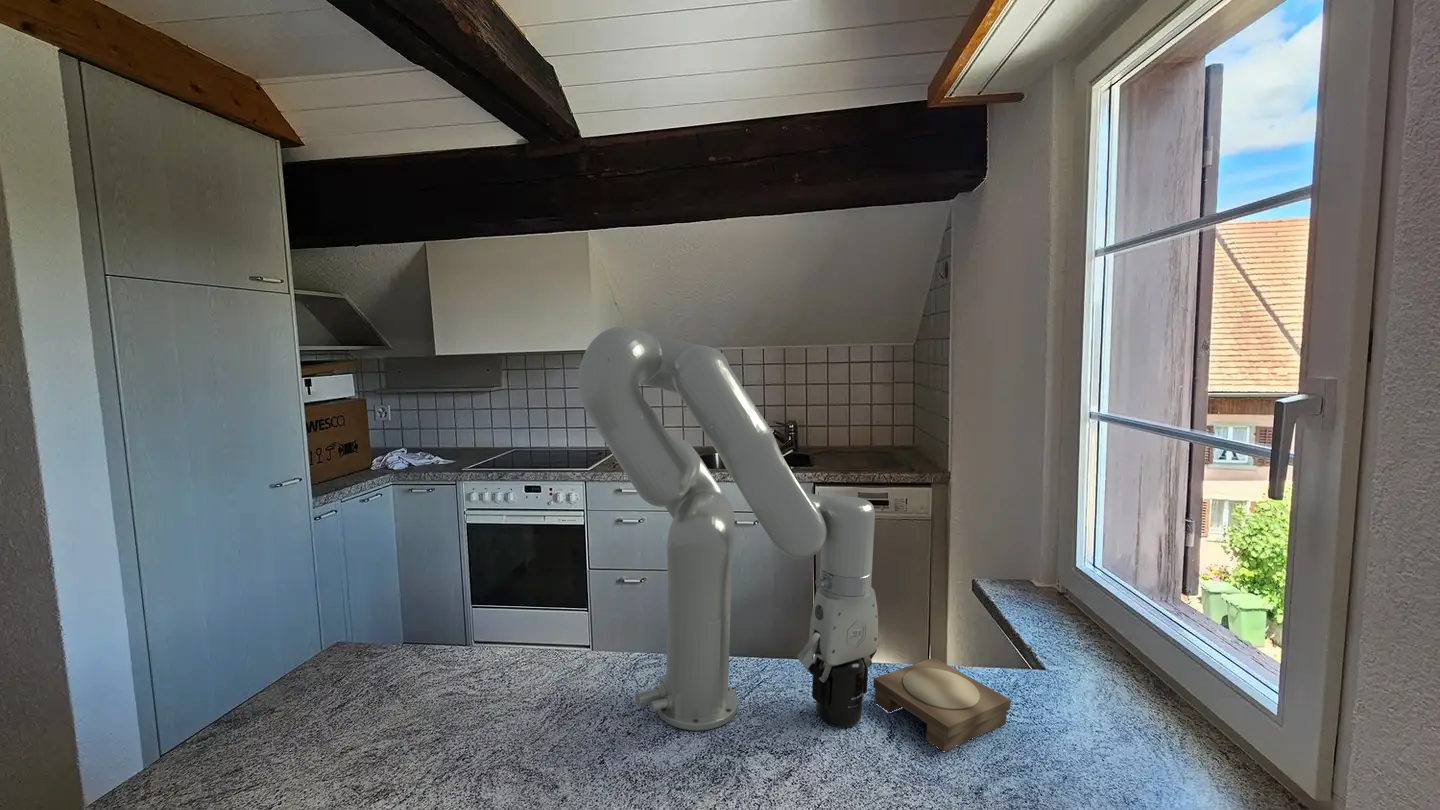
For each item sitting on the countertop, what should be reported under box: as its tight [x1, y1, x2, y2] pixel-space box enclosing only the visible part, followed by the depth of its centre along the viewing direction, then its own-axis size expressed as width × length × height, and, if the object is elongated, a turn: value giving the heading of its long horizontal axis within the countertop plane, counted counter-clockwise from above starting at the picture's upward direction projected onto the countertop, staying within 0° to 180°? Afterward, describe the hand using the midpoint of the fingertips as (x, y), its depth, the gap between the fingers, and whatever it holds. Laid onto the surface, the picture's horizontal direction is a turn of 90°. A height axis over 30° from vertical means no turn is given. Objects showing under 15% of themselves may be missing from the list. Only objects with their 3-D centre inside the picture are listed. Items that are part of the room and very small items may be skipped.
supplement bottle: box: [815, 658, 864, 728], centre depth 89 cm, size 7×7×12 cm
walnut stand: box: [872, 657, 1012, 752], centre depth 91 cm, size 14×14×4 cm
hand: (839, 694), depth 89 cm, fingers closed on supplement bottle, 6 cm apart
